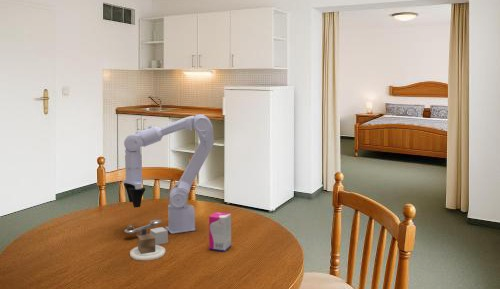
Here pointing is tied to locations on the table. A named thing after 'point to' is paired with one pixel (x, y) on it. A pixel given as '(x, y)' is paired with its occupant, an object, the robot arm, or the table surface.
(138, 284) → the table surface
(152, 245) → the walnut block
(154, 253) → the dish
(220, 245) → the supplement box
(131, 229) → the balance
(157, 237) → the grey block
